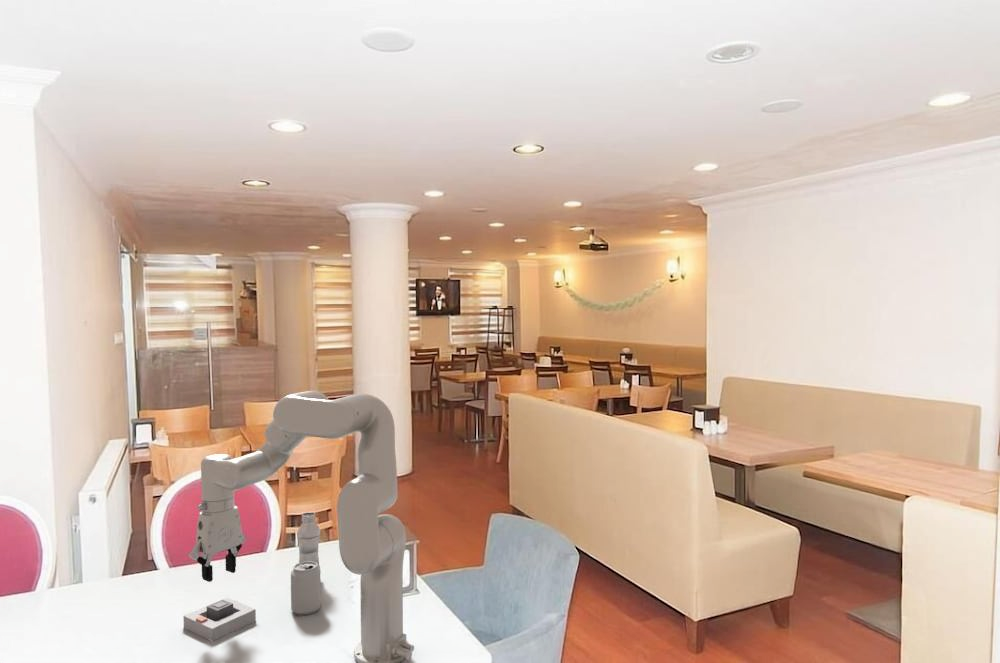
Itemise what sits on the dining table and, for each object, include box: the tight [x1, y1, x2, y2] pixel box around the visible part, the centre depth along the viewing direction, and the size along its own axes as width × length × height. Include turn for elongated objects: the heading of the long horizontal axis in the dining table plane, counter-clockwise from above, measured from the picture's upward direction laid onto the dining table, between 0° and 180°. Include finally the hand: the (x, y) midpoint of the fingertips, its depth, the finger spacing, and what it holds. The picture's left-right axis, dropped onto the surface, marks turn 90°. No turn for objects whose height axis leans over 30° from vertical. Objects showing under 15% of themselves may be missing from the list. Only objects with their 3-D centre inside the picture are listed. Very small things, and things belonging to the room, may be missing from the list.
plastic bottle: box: [296, 511, 322, 574], centre depth 185 cm, size 6×7×20 cm
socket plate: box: [183, 597, 257, 642], centre depth 161 cm, size 12×12×4 cm
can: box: [290, 561, 322, 616], centre depth 168 cm, size 8×8×12 cm
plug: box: [206, 599, 233, 622], centre depth 160 cm, size 4×4×5 cm
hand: (219, 575), depth 160 cm, fingers open, 5 cm apart
